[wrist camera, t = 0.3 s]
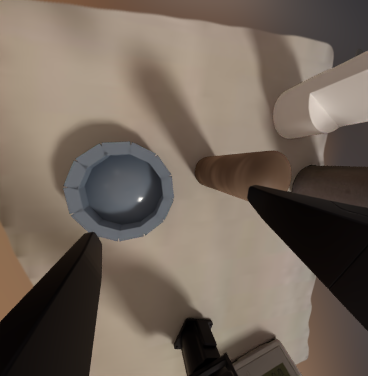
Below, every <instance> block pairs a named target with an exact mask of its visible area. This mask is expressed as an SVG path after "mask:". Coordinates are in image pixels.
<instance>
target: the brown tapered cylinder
mask: <svg viewBox="0 0 368 376" xmlns="http://www.w3.org/2000/svg"><path fill="white" fill-rule="evenodd" d="M195 176H196V179H197V180H198V182H199V183H200V184H202V185H204V186H207V187H210V188H213V189H216V190H218V191H221V192H224V193H227V194H230V195H232V196H235V197H238V198H241V199H244V200H247V201H248V199H247V195H248V189H249V187H250V186H253V185H260V186H264V187H269V188H274V189H279V190H283V191H287V190H288V188H289V186H290V182H291V166H290V163H289V161H288V159H287V158H286V157H285V155H283V154H282V153H280V152H278V151H262V152H252V153H242V154H232V155H221V156H211V157H205V158H203V159H201V160H200V161H199V162H198V163H197V165H196V168H195Z"/></svg>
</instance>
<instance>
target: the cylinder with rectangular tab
mask: <svg viewBox="0 0 368 376" xmlns="http://www.w3.org/2000/svg"><path fill="white" fill-rule="evenodd" d="M366 121H368V51H366V52H364V53H362V54H360V55H358V56H356V57H354V58H352V59H351V60H348V61H346V62H344V63H342V64H340V65H338V66H336V67H334V68H332V69H328V70H326V71H324V72H322V73H320V74H318V75H316V76H314V77H312V78H310V79H308V80H306V81H304V82H302V83H300V84H298V85H296V86H294V87H292V88H290V89H288V90H286V91H284V92H283V93H282V94H281V95H280V96H279V97H278V99H277V101H276V103H275V106H274V110H273V122H274V126H275V128H276V131H277V132H278V133H279V135H280V136H282V137H283V138H286V139H293V138H299V137H305V136H311V135H318V134H324V133H330V132H332V131H334V130H336V129H337V128H338V127H340V126H345V125H350V124H356V123H361V122H366Z"/></svg>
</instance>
